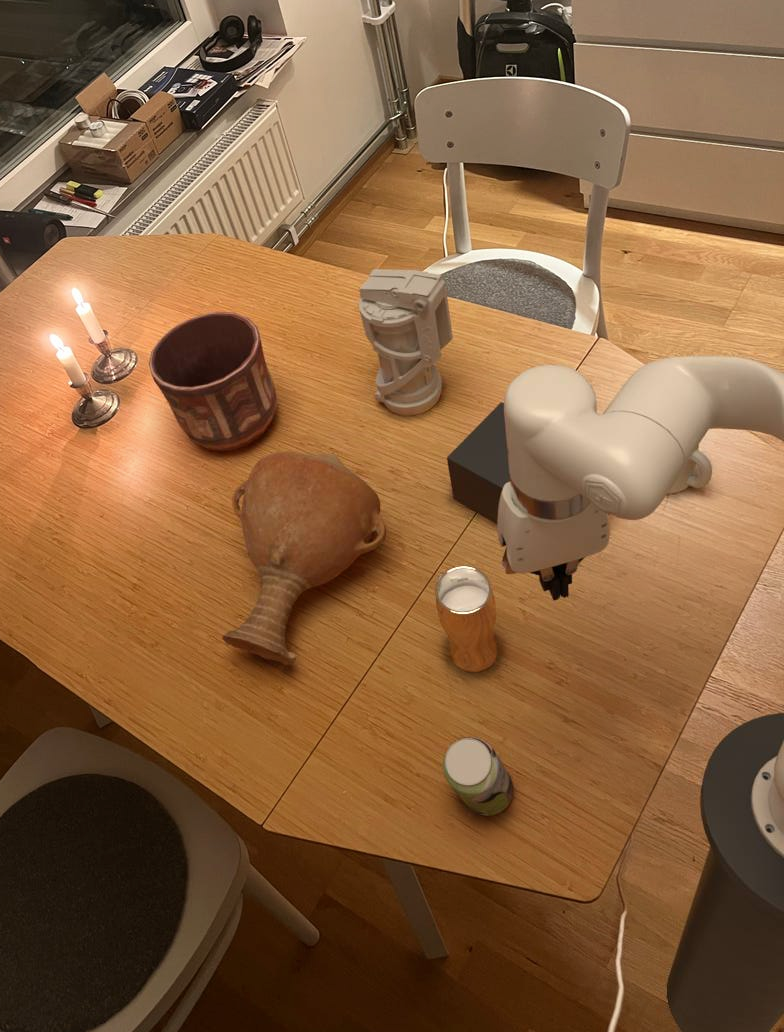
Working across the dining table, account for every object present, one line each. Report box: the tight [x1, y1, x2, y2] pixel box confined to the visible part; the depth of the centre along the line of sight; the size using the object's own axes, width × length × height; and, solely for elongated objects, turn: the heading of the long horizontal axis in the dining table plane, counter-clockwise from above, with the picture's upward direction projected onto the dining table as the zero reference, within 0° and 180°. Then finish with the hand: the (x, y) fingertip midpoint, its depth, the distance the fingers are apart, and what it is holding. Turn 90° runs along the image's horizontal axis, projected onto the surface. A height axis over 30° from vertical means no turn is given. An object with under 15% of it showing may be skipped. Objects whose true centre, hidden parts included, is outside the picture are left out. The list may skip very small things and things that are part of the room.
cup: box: [666, 444, 713, 495], centre depth 125 cm, size 7×10×9 cm
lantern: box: [358, 268, 454, 417], centre depth 140 cm, size 13×10×25 cm
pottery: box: [148, 311, 278, 452], centre depth 148 cm, size 18×18×18 cm
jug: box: [222, 451, 387, 666], centre depth 124 cm, size 20×19×30 cm
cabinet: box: [446, 401, 510, 525], centre depth 129 cm, size 15×13×10 cm
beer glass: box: [434, 565, 499, 673], centre depth 112 cm, size 7×7×15 cm
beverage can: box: [442, 736, 514, 817], centre depth 101 cm, size 6×7×12 cm
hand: (555, 587), depth 97 cm, fingers closed
